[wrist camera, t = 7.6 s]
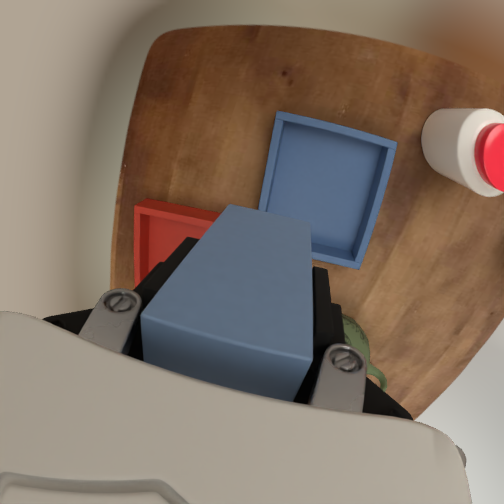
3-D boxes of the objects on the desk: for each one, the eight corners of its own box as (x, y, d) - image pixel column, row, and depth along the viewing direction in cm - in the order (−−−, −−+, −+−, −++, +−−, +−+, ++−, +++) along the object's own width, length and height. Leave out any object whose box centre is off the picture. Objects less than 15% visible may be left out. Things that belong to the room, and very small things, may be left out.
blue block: (229, 203, 14) (138, 314, 6) (310, 222, 14) (313, 359, 6) (218, 273, 16) (148, 408, 8) (291, 291, 16) (272, 442, 8)
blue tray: (279, 111, 28) (276, 110, 25) (389, 140, 27) (397, 142, 24) (255, 234, 34) (251, 245, 31) (355, 257, 33) (359, 270, 30)
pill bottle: (478, 114, 23) (539, 121, 13) (475, 180, 26) (531, 210, 16) (421, 102, 24) (473, 99, 15) (419, 173, 28) (467, 201, 18)
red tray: (146, 198, 34) (134, 205, 31) (241, 217, 33) (235, 226, 30) (145, 292, 40) (135, 304, 37) (225, 314, 39) (219, 328, 36)
